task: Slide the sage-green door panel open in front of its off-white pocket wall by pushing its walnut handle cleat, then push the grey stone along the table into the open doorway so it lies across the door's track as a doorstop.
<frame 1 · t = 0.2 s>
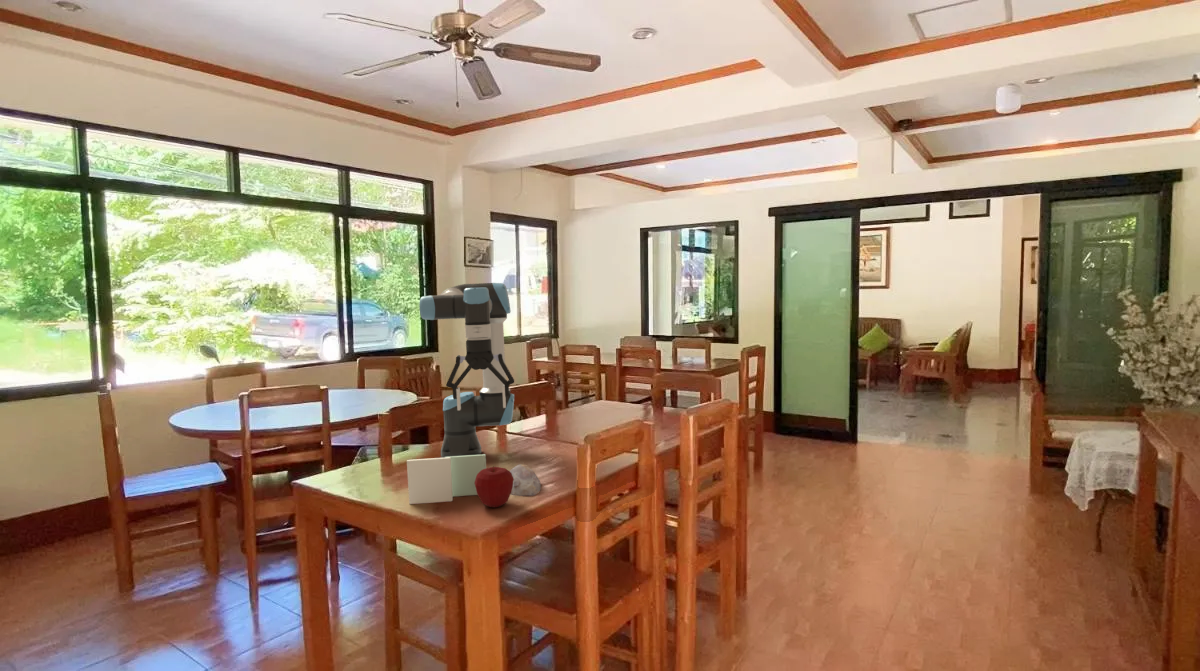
hand: (481, 408, 192), 26 cm above the table, fingers open, 13 cm apart
apple: (495, 506, 182), on the table
door: (467, 473, 194), point 6 cm above the table, slide at 0.0 cm
stone: (523, 489, 198), on the table
wall: (442, 501, 188), on the table
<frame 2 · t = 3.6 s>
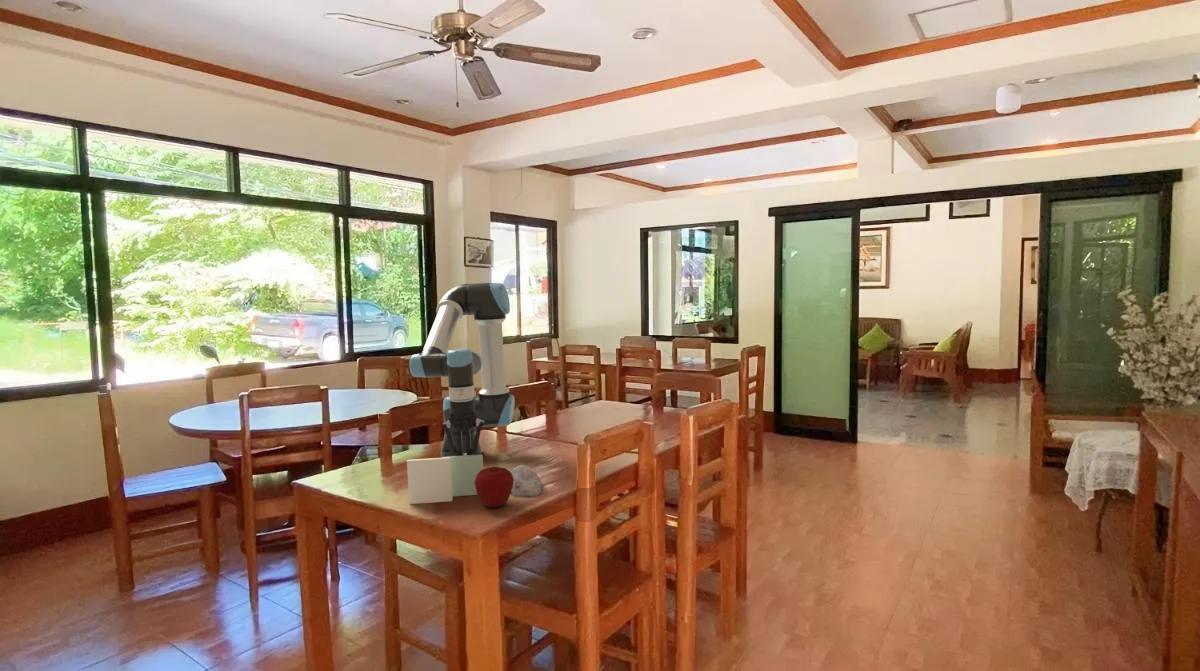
hand: (466, 475, 195), 5 cm above the table, fingers closed
door: (464, 473, 194), point 6 cm above the table, slide at 0.9 cm, touching gripper
everything else where it was.
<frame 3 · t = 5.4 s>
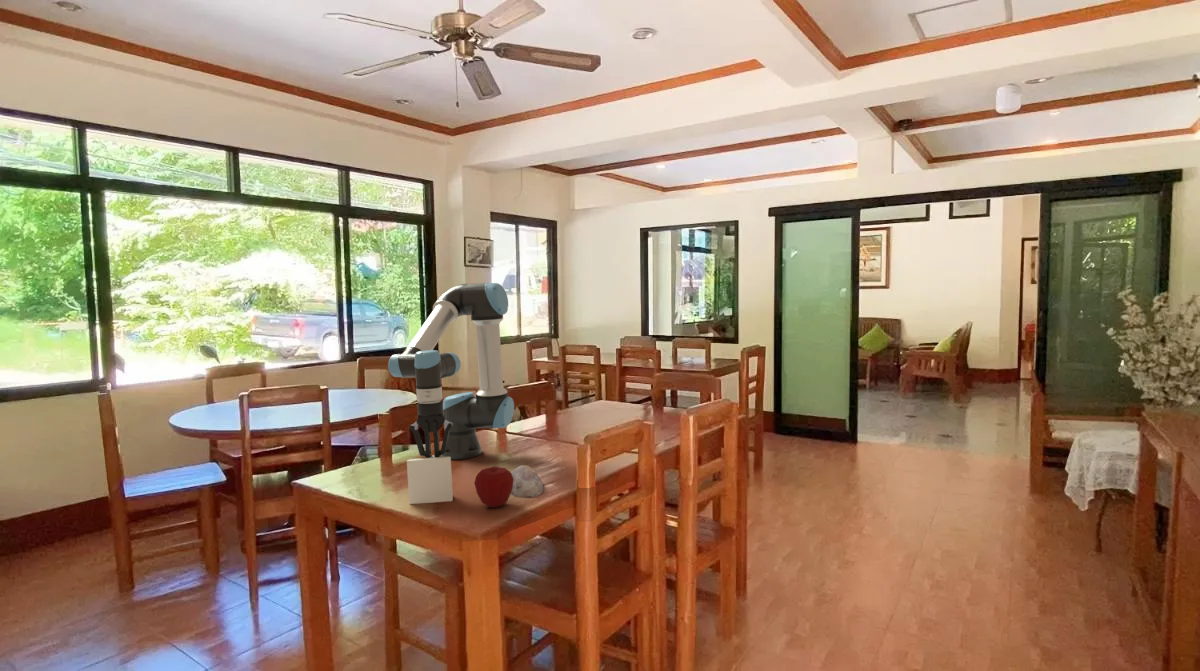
hand: (434, 477, 194), 5 cm above the table, fingers closed
door: (431, 475, 193), point 6 cm above the table, slide at 10.5 cm, touching gripper
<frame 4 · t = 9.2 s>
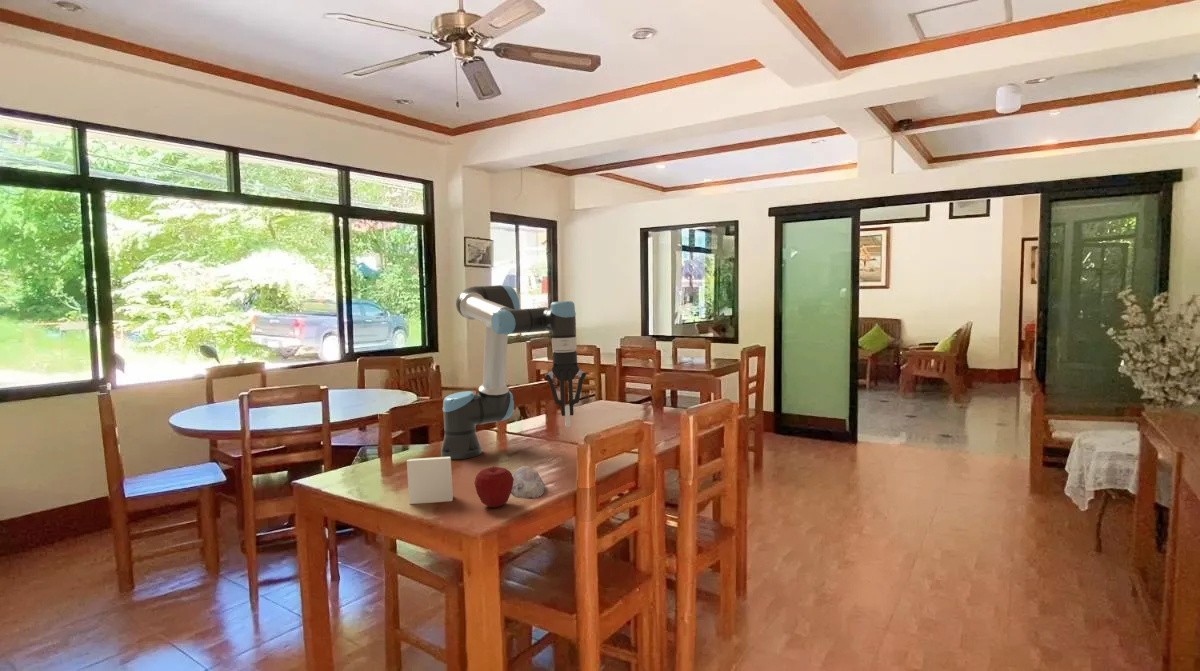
hand: (567, 425, 198), 19 cm above the table, fingers closed
door: (431, 475, 193), point 6 cm above the table, slide at 10.6 cm
stone: (527, 491, 196), on the table
everything else where it was.
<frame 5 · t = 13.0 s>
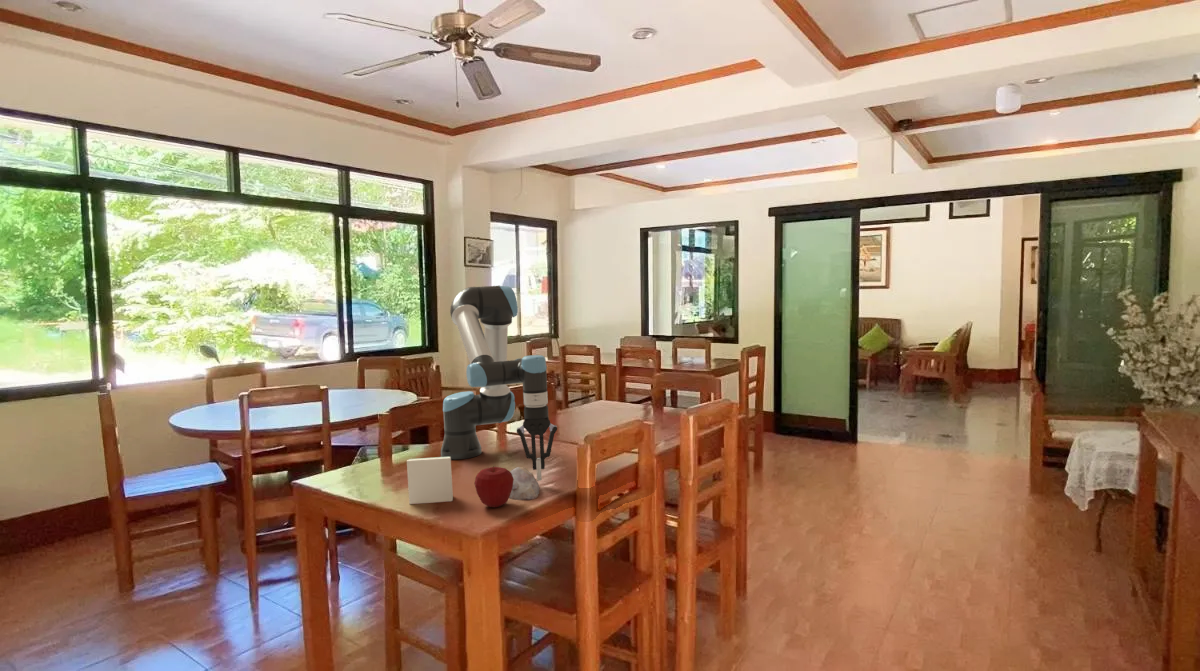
hand: (539, 479, 199), 2 cm above the table, fingers closed
stone: (522, 492, 195), on the table
everything else where it was.
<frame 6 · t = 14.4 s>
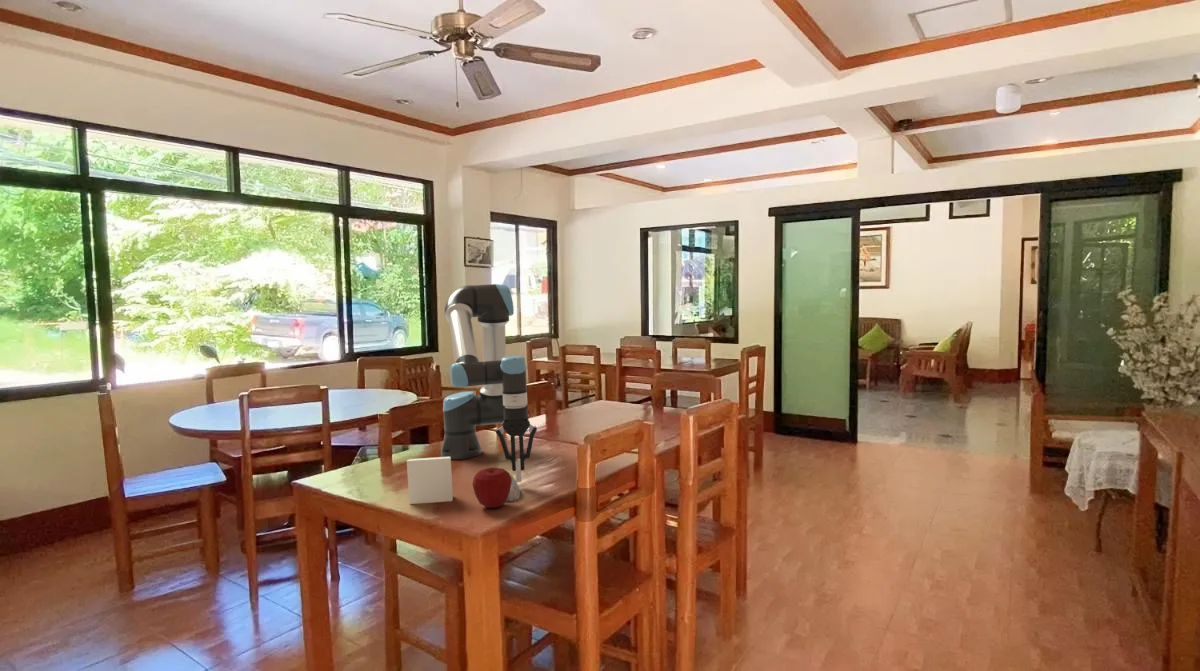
hand: (518, 480, 198), 2 cm above the table, fingers closed
stone: (502, 494, 193), on the table
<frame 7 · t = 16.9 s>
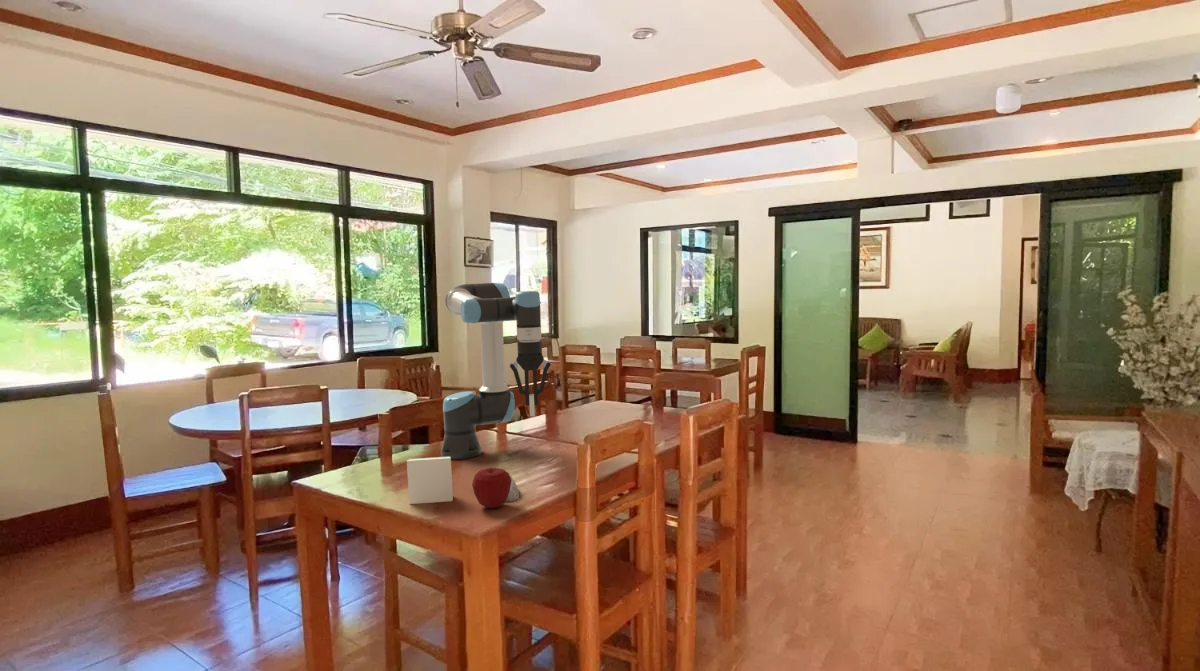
hand: (532, 415, 199), 22 cm above the table, fingers closed
nothing on the table moved.
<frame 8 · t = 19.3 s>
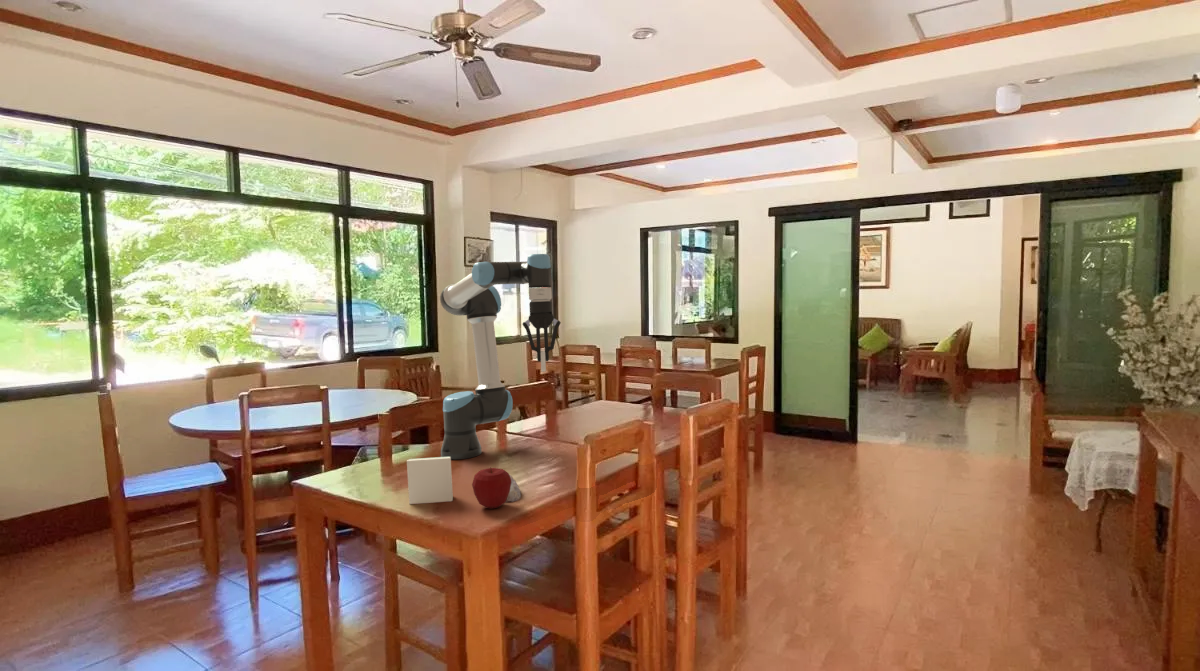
hand: (543, 370, 212), 34 cm above the table, fingers closed
at the end: door slide at 10.6 cm; stone inside the target area (6.3 cm from its centre), on the table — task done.
